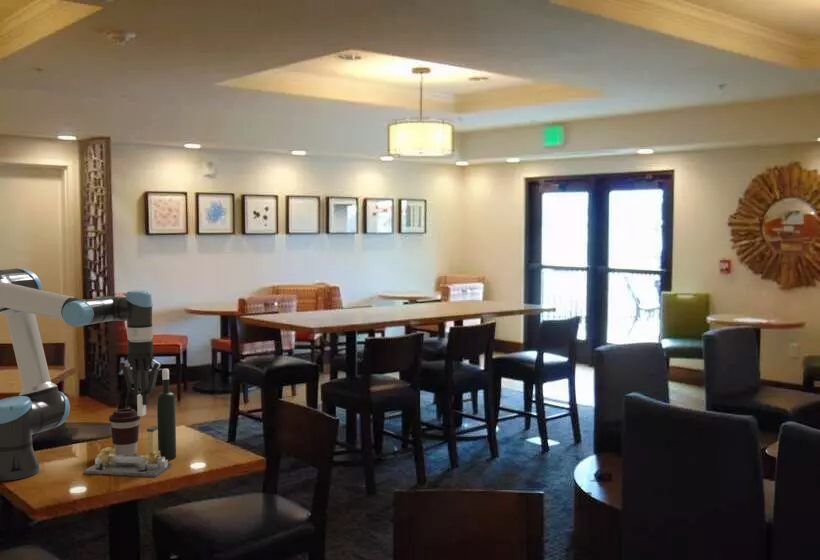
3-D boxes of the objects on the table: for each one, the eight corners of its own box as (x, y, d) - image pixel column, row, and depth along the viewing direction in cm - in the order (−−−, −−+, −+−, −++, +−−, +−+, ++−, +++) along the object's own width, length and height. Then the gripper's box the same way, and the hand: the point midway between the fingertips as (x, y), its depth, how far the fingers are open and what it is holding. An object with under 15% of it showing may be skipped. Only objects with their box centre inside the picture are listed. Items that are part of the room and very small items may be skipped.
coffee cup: (131, 458, 267) (129, 414, 266) (104, 457, 269) (103, 413, 268) (146, 450, 277) (145, 408, 276) (120, 449, 279) (119, 406, 278)
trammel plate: (83, 473, 251) (83, 454, 251) (102, 463, 262) (101, 445, 262) (156, 477, 248) (155, 458, 247) (171, 466, 259) (171, 448, 258)
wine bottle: (164, 461, 265) (162, 371, 263) (154, 457, 269) (153, 369, 267) (179, 457, 269) (177, 368, 267) (169, 454, 273) (168, 366, 271)
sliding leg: (140, 469, 251) (139, 432, 250) (151, 462, 258) (150, 426, 257) (149, 470, 250) (148, 432, 249) (160, 463, 258) (159, 426, 257)
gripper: (114, 341, 247) (116, 417, 248) (154, 342, 245) (155, 418, 246) (126, 338, 254) (128, 411, 256) (165, 339, 252) (166, 413, 254)
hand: (141, 415), depth 251 cm, fingers closed
